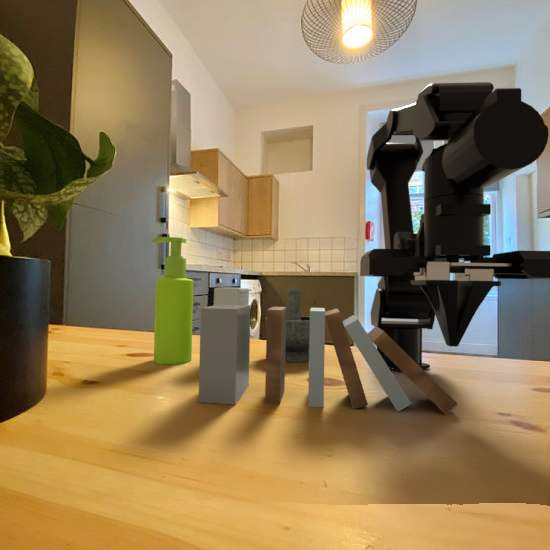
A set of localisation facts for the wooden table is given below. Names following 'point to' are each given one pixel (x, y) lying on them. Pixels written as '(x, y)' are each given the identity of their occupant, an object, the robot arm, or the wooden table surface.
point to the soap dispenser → (173, 308)
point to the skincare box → (231, 296)
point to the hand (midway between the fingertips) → (451, 345)
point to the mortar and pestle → (296, 329)
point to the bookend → (224, 353)
